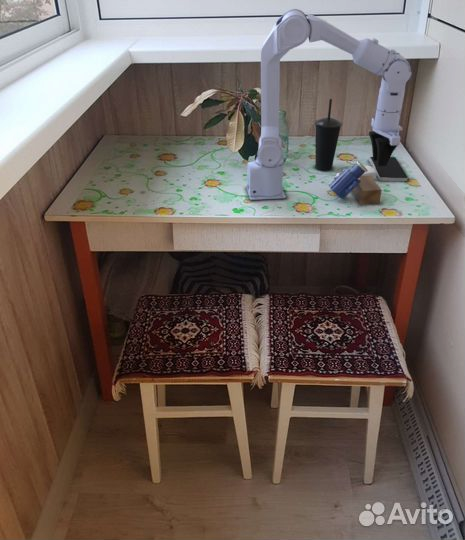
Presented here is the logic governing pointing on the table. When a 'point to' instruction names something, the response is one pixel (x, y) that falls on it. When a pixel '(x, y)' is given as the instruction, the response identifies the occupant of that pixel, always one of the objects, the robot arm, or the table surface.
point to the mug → (348, 180)
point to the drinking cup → (326, 140)
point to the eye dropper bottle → (370, 172)
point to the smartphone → (389, 170)
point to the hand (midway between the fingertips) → (379, 162)
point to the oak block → (367, 191)
